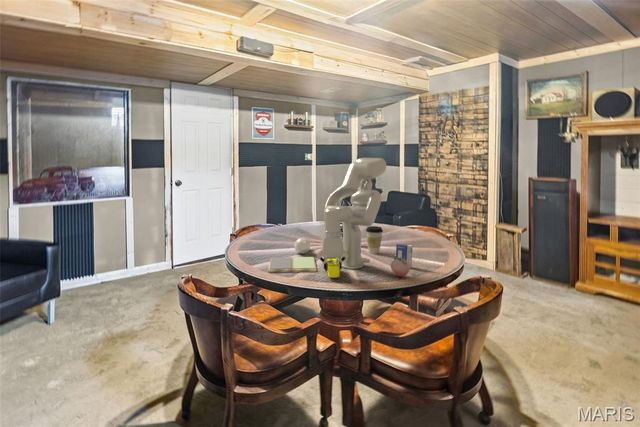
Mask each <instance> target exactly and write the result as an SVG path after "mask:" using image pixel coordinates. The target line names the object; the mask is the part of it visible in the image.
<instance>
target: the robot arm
mask: <svg viewBox="0 0 640 427" xmlns="http://www.w3.org/2000/svg"><path fill="white" fill-rule="evenodd" d="M386 170H387V162H386V160H385V159H384V158H382V157H381V158H380V157H360V158H357V159H356V161H353V162H351V163H350V164H349V166H348V169H347V171H346V173H345V177H344V178H343V182H342V184H341V186H340V187H338V188H337V189H335V190H334V192H332V193H330V196H328V198H327V200H326V203H325V206H324V209H323V216H324V219H323V220H324V236H323V237H322V241H321V250H320V251H319V252H318V253H317V254H316V258H318V259H319V260H320V261H321V262H322V264H323V270H325V272H326V273H327V262H326V261H327V259H328V258H338V260H339V270H340V271H341V270H342V269H343V268H344V269H348V270H351V269H352V270H359V269H361V268H363V267H364V266H365V265H364V263H370V262H371V261H370V260H371V259H370V258H367V257H365V258H364V257H362V231H361V228H360V227H361V226H362V227H370V226H372V225H373V224H374V223H375V221H376V217H377V215H378V213H379V210H380V206H381V203H382V195H381V193H380V191H378V190H376V189H375V190H374V189H372V188H373V182H372V179H373V180H374V179H375V178H378V177H379V176H381V175H383V174H384V173H385V172H386ZM348 197H350V204H351V205H348V206H345V205H340V204H339V205H338V203H339V202H340V201H341V200H343V199H346V198H348ZM341 223H342V230H341ZM342 231H343V232H342ZM342 234H343V237H342Z"/></svg>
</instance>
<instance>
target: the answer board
mask: <svg viewBox="0 0 640 427" xmlns="http://www.w3.org/2000/svg"><path fill="white" fill-rule="evenodd" d="M267 272H268V273H312V272H314V273H315V272H316V273H317V265H316V260H315V256H300V257H299V256H298V257H297V256H295V257H291V256H290V257H289V256H288V257H287V256H286V257H278V256H277V257H270V260H269V264H268V270H267Z"/></svg>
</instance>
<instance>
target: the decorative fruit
mask: <svg viewBox="0 0 640 427" xmlns="http://www.w3.org/2000/svg"><path fill="white" fill-rule="evenodd" d="M390 268H391V271H392V272H393V273H394V274H395V276H397V277H399V278H401V277H402V278H403V277H404V276H406V275H408V274H409V272H410V270H411V268H410V264H409V262H408V261H407V260H405V259H401V257H400V258H396V257H395V258H394V260H392V261H391V263H390Z"/></svg>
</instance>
